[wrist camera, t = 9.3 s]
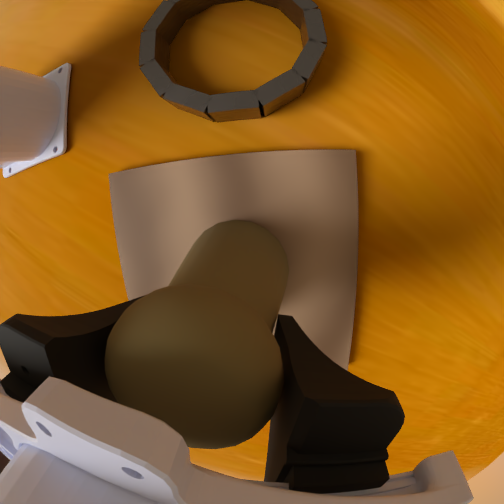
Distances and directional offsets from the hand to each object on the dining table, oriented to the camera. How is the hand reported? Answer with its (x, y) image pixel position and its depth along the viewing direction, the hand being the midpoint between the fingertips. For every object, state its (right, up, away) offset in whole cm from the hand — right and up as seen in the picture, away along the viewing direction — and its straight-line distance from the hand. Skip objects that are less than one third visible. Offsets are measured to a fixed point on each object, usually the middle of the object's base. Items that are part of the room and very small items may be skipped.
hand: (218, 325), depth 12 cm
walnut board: (0, +2, +6) cm, 6 cm away
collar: (0, +16, +2) cm, 16 cm away
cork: (+1, +2, +5) cm, 5 cm away
